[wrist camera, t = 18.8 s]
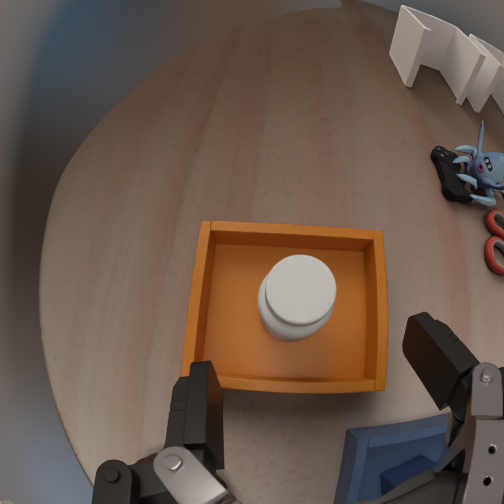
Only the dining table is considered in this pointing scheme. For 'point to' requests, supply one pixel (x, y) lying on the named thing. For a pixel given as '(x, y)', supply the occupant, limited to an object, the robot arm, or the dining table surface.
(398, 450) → the blue tray
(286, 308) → the pill bottle
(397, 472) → the blue block
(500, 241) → the scissors
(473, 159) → the figurine
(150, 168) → the dining table surface
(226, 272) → the amber tray
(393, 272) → the dining table surface
